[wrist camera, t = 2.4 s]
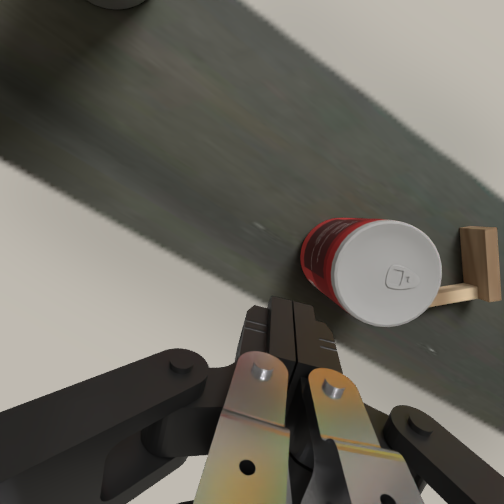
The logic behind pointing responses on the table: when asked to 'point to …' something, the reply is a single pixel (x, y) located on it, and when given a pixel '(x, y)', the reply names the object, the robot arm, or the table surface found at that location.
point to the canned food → (373, 268)
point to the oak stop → (475, 268)
